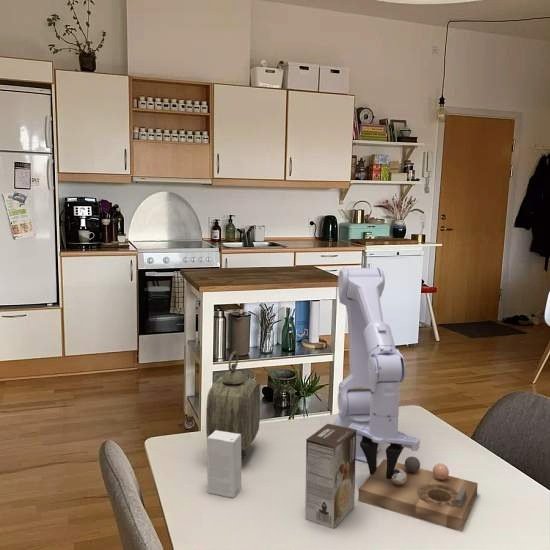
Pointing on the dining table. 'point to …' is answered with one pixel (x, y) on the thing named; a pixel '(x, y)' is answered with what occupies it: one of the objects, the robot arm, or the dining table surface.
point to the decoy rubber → (412, 464)
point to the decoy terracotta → (440, 471)
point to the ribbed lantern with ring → (234, 406)
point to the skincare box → (224, 463)
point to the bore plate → (421, 496)
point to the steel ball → (398, 476)
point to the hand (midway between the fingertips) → (381, 475)
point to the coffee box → (330, 474)
